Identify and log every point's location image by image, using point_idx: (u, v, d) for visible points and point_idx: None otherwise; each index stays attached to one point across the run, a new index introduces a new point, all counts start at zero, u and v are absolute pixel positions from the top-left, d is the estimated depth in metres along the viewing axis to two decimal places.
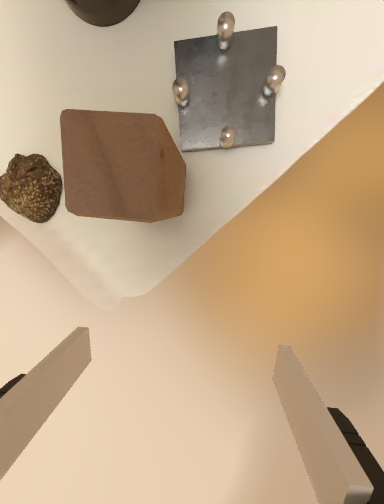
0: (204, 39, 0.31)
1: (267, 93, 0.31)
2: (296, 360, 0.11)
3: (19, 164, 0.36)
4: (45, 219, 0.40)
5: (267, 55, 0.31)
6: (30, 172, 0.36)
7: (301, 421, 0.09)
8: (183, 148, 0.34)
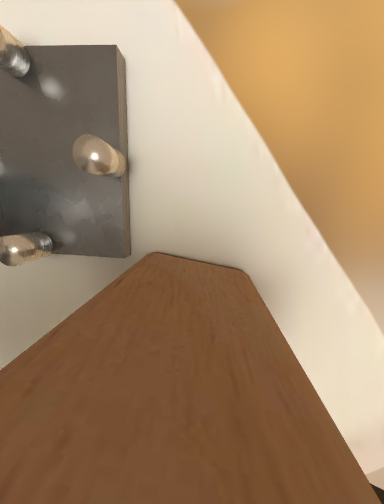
0: None
1: (23, 63, 0.14)
2: None
3: None
4: None
5: None
6: None
7: None
8: (122, 254, 0.18)
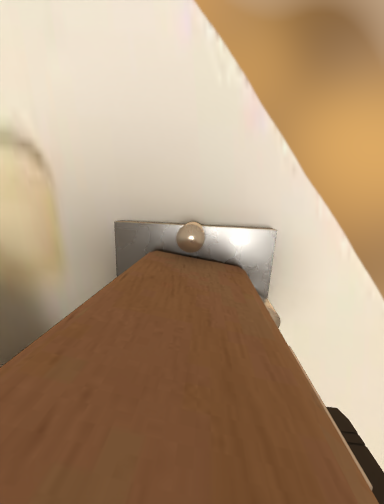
0: None
1: None
2: None
3: None
4: None
5: (149, 237, 0.20)
6: None
7: None
8: None
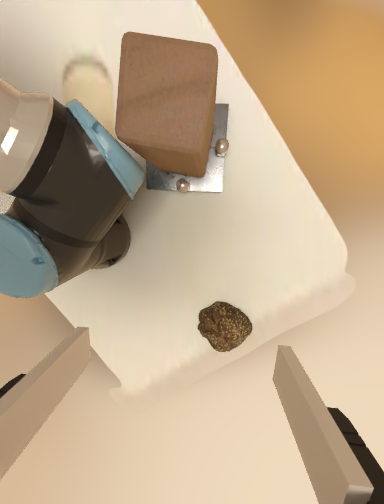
0: (147, 164, 0.40)
1: None
2: (296, 360, 0.11)
3: (207, 327, 0.47)
4: (250, 322, 0.47)
5: None
6: (215, 320, 0.45)
7: (301, 421, 0.09)
8: (221, 190, 0.40)
